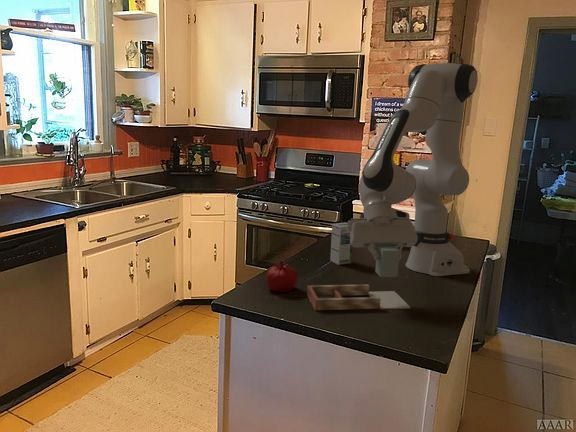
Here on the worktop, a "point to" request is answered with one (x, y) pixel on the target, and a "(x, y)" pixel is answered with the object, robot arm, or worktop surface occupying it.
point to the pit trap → (319, 296)
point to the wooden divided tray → (346, 302)
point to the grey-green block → (387, 261)
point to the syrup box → (341, 244)
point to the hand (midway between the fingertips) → (388, 258)
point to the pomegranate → (281, 278)
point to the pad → (390, 300)
